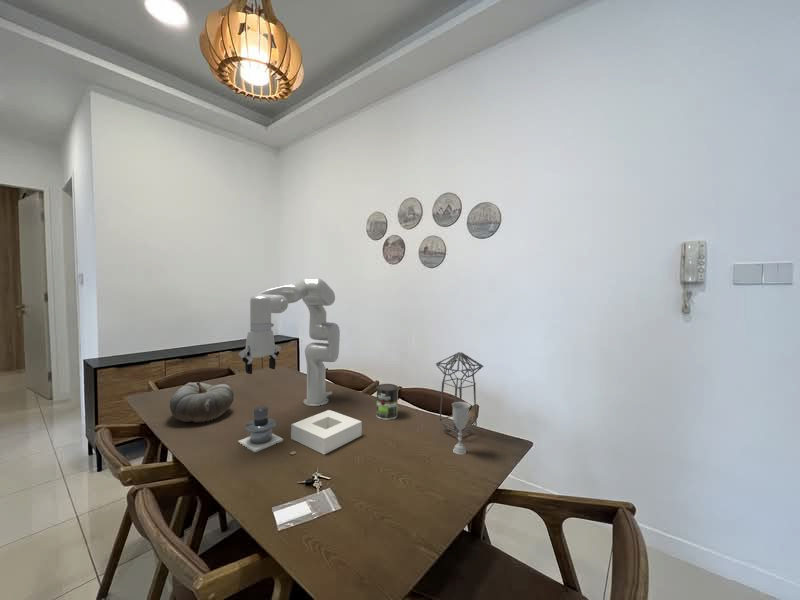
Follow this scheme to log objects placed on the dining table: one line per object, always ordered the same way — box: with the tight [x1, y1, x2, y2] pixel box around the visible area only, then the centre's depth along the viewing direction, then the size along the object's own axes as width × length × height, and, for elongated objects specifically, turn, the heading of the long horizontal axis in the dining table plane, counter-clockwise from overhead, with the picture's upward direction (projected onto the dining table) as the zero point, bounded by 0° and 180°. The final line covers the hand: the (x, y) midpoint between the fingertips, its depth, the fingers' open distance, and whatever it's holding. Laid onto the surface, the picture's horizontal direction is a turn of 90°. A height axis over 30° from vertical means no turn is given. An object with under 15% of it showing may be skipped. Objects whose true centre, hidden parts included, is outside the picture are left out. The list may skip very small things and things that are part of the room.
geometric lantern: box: [435, 351, 484, 439], centre depth 143 cm, size 16×16×35 cm
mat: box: [237, 432, 284, 453], centre depth 133 cm, size 12×12×1 cm
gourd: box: [169, 381, 235, 423], centre depth 155 cm, size 25×25×17 cm
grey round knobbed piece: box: [245, 405, 277, 445], centre depth 132 cm, size 11×11×12 cm
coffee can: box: [375, 383, 399, 421], centre depth 161 cm, size 10×10×14 cm
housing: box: [290, 409, 363, 455], centre depth 138 cm, size 20×20×6 cm
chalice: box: [451, 401, 471, 455], centre depth 128 cm, size 7×7×18 cm
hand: (261, 370), depth 132 cm, fingers open, 9 cm apart
